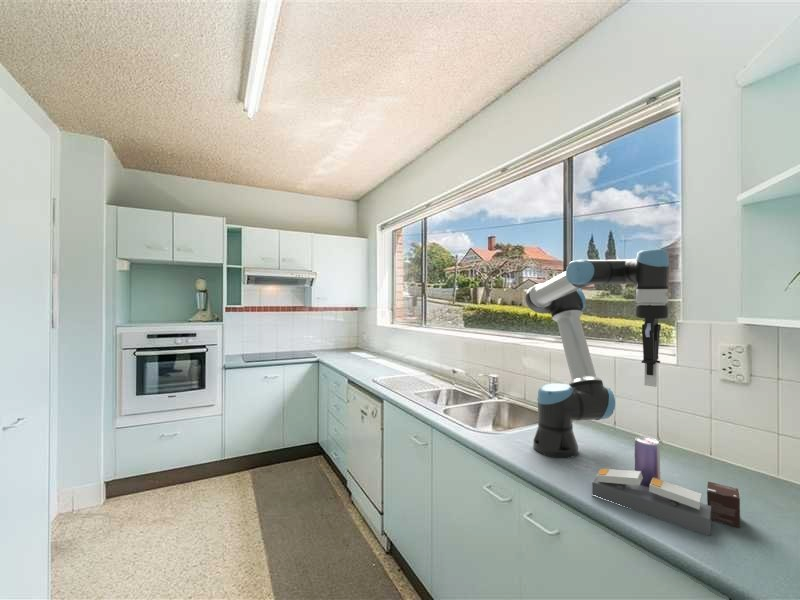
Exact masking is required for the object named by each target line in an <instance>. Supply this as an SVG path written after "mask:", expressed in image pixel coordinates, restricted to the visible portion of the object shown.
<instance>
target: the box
mask: <svg viewBox="0 0 800 600" xmlns="http://www.w3.org/2000/svg"><path fill="white" fill-rule="evenodd" d="M706 487H707V489H706V490H707V491H706V500H707V503H706V505H709V506H711V521H714V522H717V523H720V524H721V523H722V524H725V525H728V526H731V527H735V528H738V529H740V528H741V497H740V493H739V488H737V487H736V488H735V487H732V486H729V485H724V484H720V483H716V482H712V481H707V486H706Z"/></svg>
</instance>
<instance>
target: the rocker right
mask: <svg viewBox="0 0 800 600" xmlns="http://www.w3.org/2000/svg"><path fill="white" fill-rule="evenodd" d="M649 492H652V493H655V494H658V495H660V496H663V497H666V498H669V499H671V500H674V501H677V502H680V503H682V504H685V505H688V506H691V507H693V508H696V509H699V508H700V503H702V493H700V492H697V491H695V490H691V489H689V488H686V487H683V486H680V485H677V484H674V483H672V482H667V481H665V480H662V479H661V478H660V479H657V478H652V480H651V483H650V485H649Z"/></svg>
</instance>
